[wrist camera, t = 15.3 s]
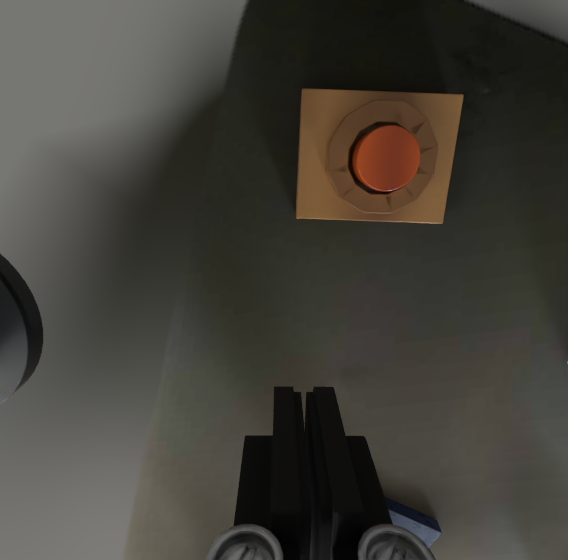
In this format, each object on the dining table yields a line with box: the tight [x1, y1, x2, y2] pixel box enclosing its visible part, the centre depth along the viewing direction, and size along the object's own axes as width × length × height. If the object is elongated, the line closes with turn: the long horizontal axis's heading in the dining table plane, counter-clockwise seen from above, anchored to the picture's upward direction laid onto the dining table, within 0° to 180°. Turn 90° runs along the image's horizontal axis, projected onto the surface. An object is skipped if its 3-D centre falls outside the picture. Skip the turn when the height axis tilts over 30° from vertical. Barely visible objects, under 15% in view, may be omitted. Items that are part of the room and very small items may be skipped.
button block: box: [296, 88, 464, 224], centre depth 24 cm, size 10×8×4 cm
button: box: [352, 125, 420, 191], centre depth 22 cm, size 4×4×2 cm
